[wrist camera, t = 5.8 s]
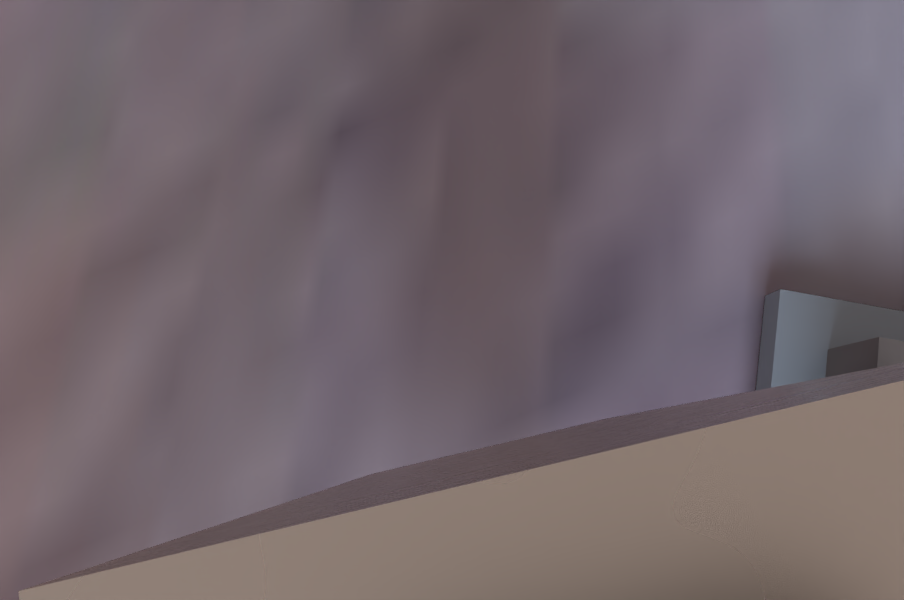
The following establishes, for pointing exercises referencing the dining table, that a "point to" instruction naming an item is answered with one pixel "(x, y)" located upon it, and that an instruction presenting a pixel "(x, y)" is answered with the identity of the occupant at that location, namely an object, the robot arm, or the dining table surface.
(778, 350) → the coupler cradle
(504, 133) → the dining table surface
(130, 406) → the dining table surface
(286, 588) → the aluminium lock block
